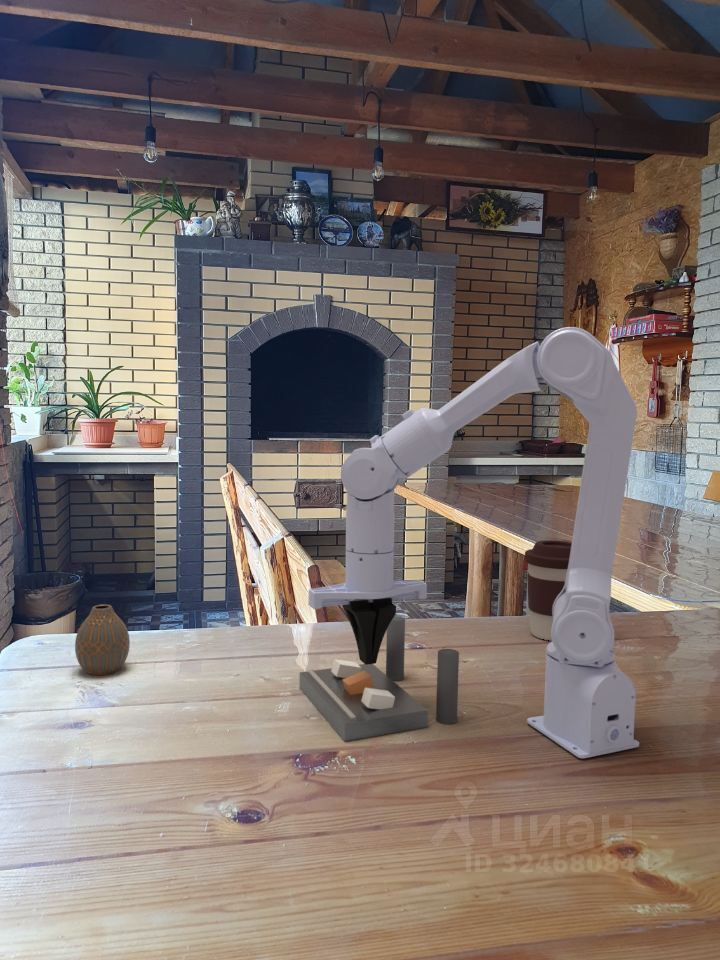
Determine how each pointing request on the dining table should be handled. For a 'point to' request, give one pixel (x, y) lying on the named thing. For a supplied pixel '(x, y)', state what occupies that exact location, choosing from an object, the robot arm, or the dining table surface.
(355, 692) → the orange block
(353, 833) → the dining table surface
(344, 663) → the paddle
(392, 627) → the post
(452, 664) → the post
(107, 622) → the vase
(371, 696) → the paddle
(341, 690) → the breaker panel
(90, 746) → the dining table surface
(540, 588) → the coffee cup
